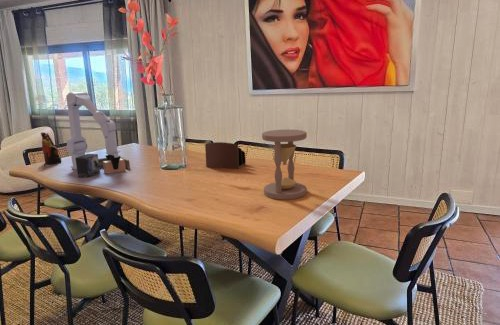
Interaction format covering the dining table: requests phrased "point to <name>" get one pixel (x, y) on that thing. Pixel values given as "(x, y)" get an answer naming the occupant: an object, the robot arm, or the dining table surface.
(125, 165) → the shelf
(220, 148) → the letter holder
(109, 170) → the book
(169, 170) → the dining table surface
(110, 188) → the dining table surface
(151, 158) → the dining table surface
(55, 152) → the statue
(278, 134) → the hourglass
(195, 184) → the dining table surface
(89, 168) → the small box
